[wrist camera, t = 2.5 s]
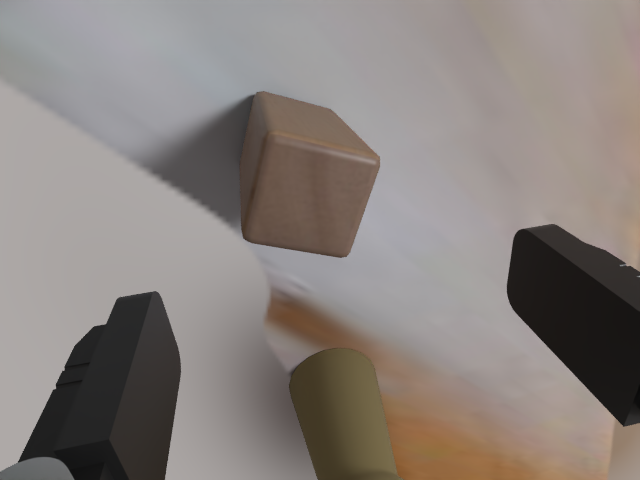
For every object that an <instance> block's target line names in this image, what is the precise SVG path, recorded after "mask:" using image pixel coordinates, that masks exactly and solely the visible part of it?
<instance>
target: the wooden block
mask: <svg viewBox="0 0 640 480" xmlns="http://www.w3.org/2000/svg"><path fill="white" fill-rule="evenodd" d="M239 165H240V197H241V229H242V234H243V238H244V239H245V240H246V241H248V242H251V243H254V244H260V245H266V246H272V247H278V248H285V249H291V250H297V251H303V252H309V253H315V254H321V255H327V256H333V257H339V258H341V257H347V255H348V254H349V253H350V251H351V248H352V245H353V242H354V239H355V236H356V234H357V231H358V228H359V225H360V222H361V219H362V216H363V214H364V211H365V208H366V205H367V202H368V199H369V196H370V193H371V191H372V188H373V185H374V182H375V179H376V176H377V173H378V171H379V168H380V157H379V156H378V155H377V154H376V153H375V152H374V151H373V150H372V149H371V148H370V147H369V146H368V145H367V144H366V143H365V142H364V141H363V140H362V139H361V138H360V137H359V136H358V135H357V134H356V133H355V132H354V131H353V130H352V129H351V128H350V127H349V126H348V125H347V124H346V123H345V122H344V121H343V120H342V119H341V118H340V117H339V116H338V115H337V114H336V113H334V112H333V111H332V110H331V109H328V108H324V107H321V106H317V105H313V104H309V103H306V102H302V101H298V100H294V99H291V98H287V97H283V96H279V95H275V94H272V93H268V92H264V91H263V92H257V93H256V95H255V96H254V97H253V101H252V106H251V111H250V116H249V121H248V125H247V130H246V135H245V140H244V145H243V150H242V155H241V159H240V164H239Z"/></svg>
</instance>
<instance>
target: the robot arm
mask: <svg viewBox="0 0 640 480" xmlns="http://www.w3.org/2000/svg"><path fill="white" fill-rule="evenodd" d="M507 295H508V299H509V302H510V304H511V306H512V308H513V310H514V311H515V312H516V314H517V315H518V316H519V317H520V318H521V319H522V320H523V321H524V322H525V323H526V324H527V325H528V326H529V327H530V328H531V329H532V330H533V332H534V333H535V334H536V335H537V336H538V337H539V338H540V339H541V340H542V341H543V342H544V343H545V344H546V345H547V346H548V347H549V348H550V349H551V351H552V352H553V353H554V354H555V355H556V356H557V357H558V358H559V359H560V360H561V361H562V362H563V363H564V364H565V365H566V366H567V367H568V368H569V369H570V371H571V372H572V373H573V374H574V375H575V376H576V377H577V378H578V379H579V380H580V381H581V382H582V383H583V384H584V385H585V386H586V387H587V388H588V390H589V391H590V392H591V393H592V394H593V395H594V396H595V397H596V398H597V399H598V400H599V401H600V402H601V403H602V404H603V405H604V406H605V407H606V409H607V410H608V411H609V412H610V413H611V414H612V415H613V416H614V417H615V418H616V419H617V420H618V421H619V422H620V423H621V424H622V425H623V426H628V425H633V424H637V423H640V272H639V271H637V270H636V269H634V268H633V267H631V266H626V263H625V262H623V261H621V260H620V259H618V258H617V257H615V256H614V255H612V254H610V253H609V252H607V251H606V250H603V249H600V248H597V247H595V246H592V245H589V244H587V243H584V242H582V241H581V240H579V239H578V238H576V237H575V236H573V235H572V234H570V233H568V232H567V231H565V230H564V229H562V228H561V227H559V226H557V225H555V224H549V225H543V226H538V227H532V228H526V229H521V230H519V231H518V232H517V233H516V234H515V236H514V240H513V247H512V254H511V261H510V267H509V274H508V281H507ZM180 375H181V363H180V356H179V351H178V346H177V343H176V340H175V337H174V334H173V332H172V328H171V325H170V322H169V319H168V317H167V313H166V310H165V307H164V304H163V301H162V298H161V296H160V294H159V293H158V292H156V291H154V292H148V293H142V294H137V295H131V296H125V297H120V298H118V299H117V300H116V302H115V305H114V307H113V309H112V312H111V314H110V317H109V319H108V321H107V324H105V325H100V326H94V327H93V328H92V329H91V330H90V331H89V332H88V333H87V334H86V335H85V336H84V337H83V338H82V339H81V340H80V341H79V342H78V343H77V344H76V345H75V346H74V349H73V350H72V352H71V354H70V357H69V359H68V361H67V363H66V365H65V371H62V373H61V375H60V377H59V379H58V381H57V383H56V389H55V390H53V392H52V394H51V395H50V398H49V400H48V402H47V404H46V406H45V408H44V410H43V412H42V414H41V416H40V418H39V420H38V422H37V424H36V426H35V428H34V430H33V432H32V434H31V436H30V439H29V441H28V443H27V445H26V447H25V449H24V451H23V453H22V455H21V457H20V459H19V461H18V463H16V464H14V465H12V466H10V467H8V468H6V469H5V470H3V471H1V472H0V480H165V474H166V467H167V461H168V454H169V448H170V441H171V434H172V427H173V422H174V415H175V409H176V402H177V395H178V389H179V382H180Z"/></svg>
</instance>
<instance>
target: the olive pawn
mask: <svg viewBox="0 0 640 480" xmlns="http://www.w3.org/2000/svg"><path fill="white" fill-rule="evenodd" d="M289 388H290V394H291V398H292V401H293V404H294V407H295V410H296V413H297V417H298V420H299V423H300V426H301V429H302V432H303V435H304V438H305V442H306V445H307V448H308V451H309V454H310V457H311V460H312V463H313V466H314V469H315V473H316V476H317V479H318V480H404V479H402V478H401V477H399V476H398V475H397V470H396V465H395V461H394V456H393V451H392V447H391V442H390V437H389V433H388V428H387V423H386V419H385V414H384V409H383V405H382V400H381V395H380V391H379V386H378V381H377V377H376V372H375V368H374V366H373V364H372V362H371V360H370V359H369V358H367V357H366V356H365V355H364V354H362V353H361V352H358V351H355V350H352V349H343V348H335V349H330V350H325V351H321V352H319V353H317V354H314V355H312V356H310V357H308V358H307V359H306V360H305V361H303V362H302V363H301V364H300V365H299V366H298V367H297V368H296V370H295V371H294V373H293V374H292V376H291V380H290V384H289Z"/></svg>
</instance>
